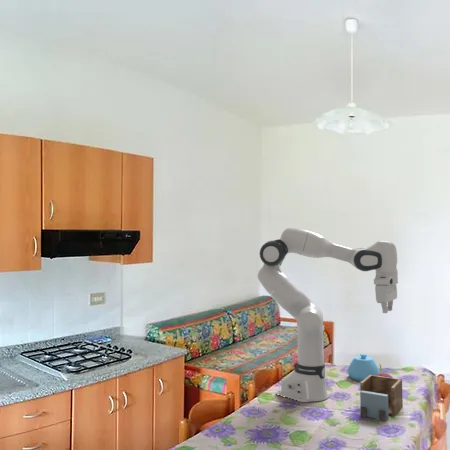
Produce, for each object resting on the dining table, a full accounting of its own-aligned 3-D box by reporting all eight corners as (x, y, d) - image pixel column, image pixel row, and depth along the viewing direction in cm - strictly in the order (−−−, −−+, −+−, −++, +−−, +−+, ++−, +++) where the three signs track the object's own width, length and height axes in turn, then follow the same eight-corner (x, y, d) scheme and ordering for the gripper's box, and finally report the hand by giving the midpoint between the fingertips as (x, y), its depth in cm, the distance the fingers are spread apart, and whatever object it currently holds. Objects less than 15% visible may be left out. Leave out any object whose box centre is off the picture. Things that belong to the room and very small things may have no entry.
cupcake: (383, 393, 212) (383, 365, 212) (369, 388, 219) (369, 361, 220) (398, 390, 216) (397, 363, 216) (383, 385, 223) (383, 359, 224)
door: (389, 417, 183) (388, 393, 184) (387, 420, 180) (386, 396, 181) (363, 412, 189) (362, 389, 189) (360, 415, 186) (360, 391, 186)
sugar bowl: (357, 383, 226) (357, 359, 227) (342, 375, 241) (342, 351, 241) (386, 381, 230) (385, 356, 230) (369, 372, 244) (369, 349, 245)
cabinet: (355, 415, 185) (355, 386, 186) (370, 401, 202) (369, 374, 202) (390, 422, 178) (389, 392, 179) (402, 406, 195) (402, 379, 195)
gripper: (385, 277, 214) (386, 308, 214) (372, 280, 197) (373, 314, 197) (400, 277, 211) (401, 309, 211) (388, 281, 194) (389, 315, 193)
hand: (387, 311), depth 204 cm, fingers open, 6 cm apart
